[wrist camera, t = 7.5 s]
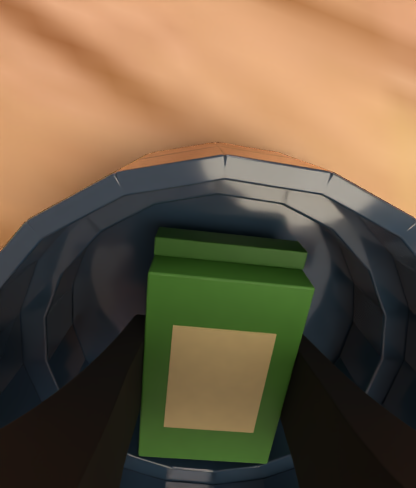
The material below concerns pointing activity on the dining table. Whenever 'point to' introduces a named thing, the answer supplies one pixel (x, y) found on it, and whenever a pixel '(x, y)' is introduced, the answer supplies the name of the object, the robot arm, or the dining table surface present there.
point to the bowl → (219, 221)
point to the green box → (219, 343)
